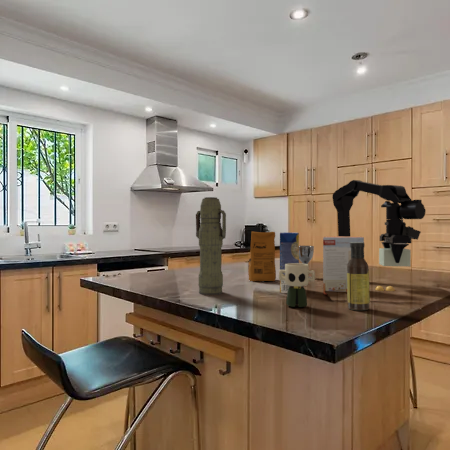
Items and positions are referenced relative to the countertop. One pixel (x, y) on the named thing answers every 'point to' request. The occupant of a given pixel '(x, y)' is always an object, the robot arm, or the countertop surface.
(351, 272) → the sauce bottle
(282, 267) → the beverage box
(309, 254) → the wine glass
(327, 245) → the cracker box
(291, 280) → the toy figurine
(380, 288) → the amber marble
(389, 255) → the sage cover
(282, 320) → the countertop surface
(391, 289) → the amber marble
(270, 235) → the coffee package
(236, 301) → the countertop surface
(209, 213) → the thermos
